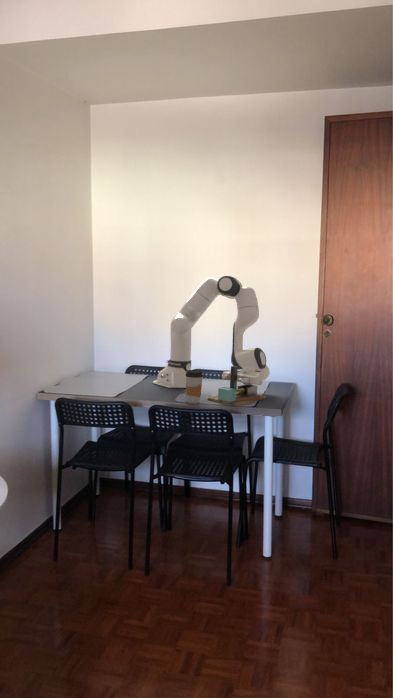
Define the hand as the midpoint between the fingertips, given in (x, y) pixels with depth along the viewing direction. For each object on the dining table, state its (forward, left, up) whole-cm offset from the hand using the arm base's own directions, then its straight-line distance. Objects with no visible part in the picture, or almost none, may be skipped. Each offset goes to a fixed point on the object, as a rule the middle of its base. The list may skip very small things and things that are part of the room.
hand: (232, 379), depth 287 cm
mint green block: (0, -4, -11) cm, 11 cm away
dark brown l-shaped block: (0, +2, -9) cm, 9 cm away
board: (0, +5, -11) cm, 12 cm away
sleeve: (0, +14, -10) cm, 17 cm away
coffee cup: (-11, -17, -11) cm, 23 cm away
